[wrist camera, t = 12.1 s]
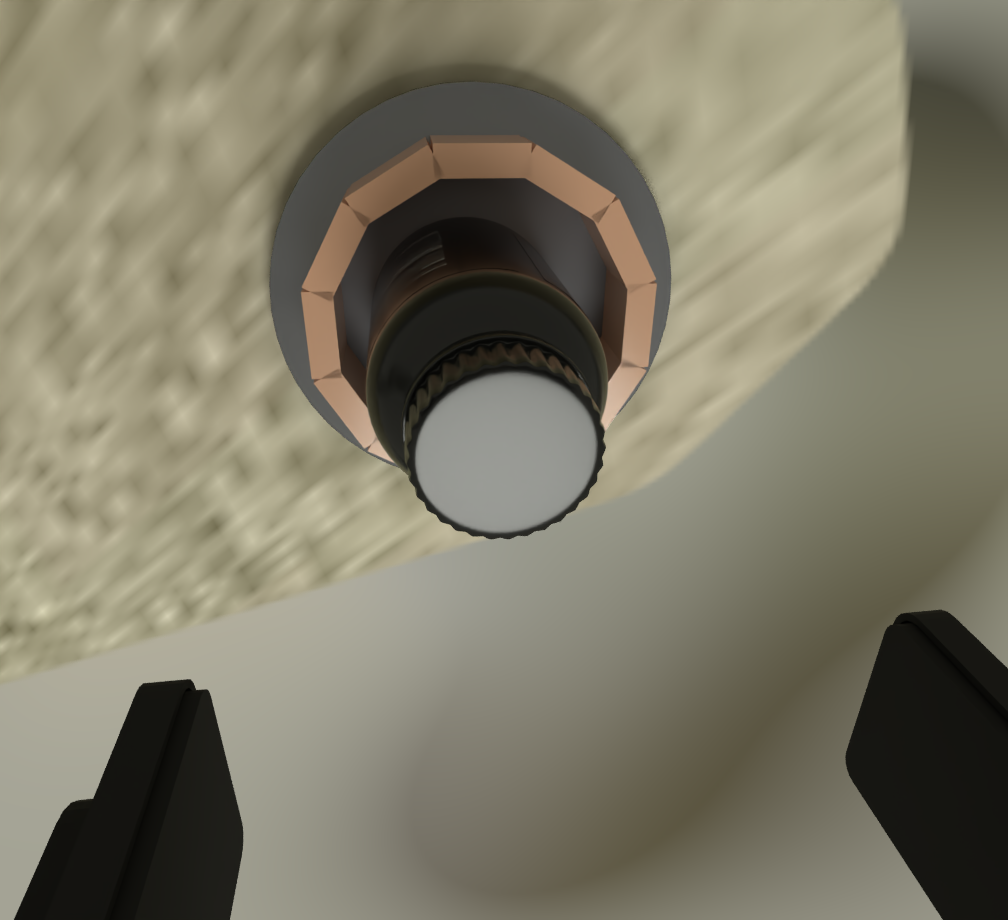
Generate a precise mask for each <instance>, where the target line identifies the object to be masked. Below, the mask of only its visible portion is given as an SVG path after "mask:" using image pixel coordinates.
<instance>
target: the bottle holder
mask: <svg viewBox="0 0 1008 920" xmlns="http://www.w3.org/2000/svg"><path fill="white" fill-rule="evenodd" d="M454 217H476V218H482V219H487V220H491V221H494V222H497V223H499V224H502V225H504V226H506V227H508V228H510V229H511V230H513V231H515V232H516V233H518V234H519V235H521V236H522V237H523V238H524V239H526V240H527V241H528V242H529V243H530V244H531V245H532V246H533V247H534V248H535V249H536V251H537V252H538V253H539V254H540V255H541V256H542V258H543V259H544V260H545V262H546V263H547V264H548V265H549V267H550V268H551V269H552V271H553V272H554V273H555V275H556V276H557V277H558V279H559V280H560V281H561V282H562V284H563V285H564V286H565V288H566V289H567V290H568V292H569V293H570V294H571V296H572V297H573V298H574V300H575V301H576V302H577V303H578V305H579V306H580V307H581V309H582V310H583V311H584V313H585V314H586V316H587V317H588V319H589V320H590V322H591V324H592V325H593V327H594V329H595V331H596V333H597V335H598V337H599V339H600V341H601V344H602V347H603V350H604V353H605V357H606V362H607V370H608V394H607V401H606V406H605V410H604V413H603V416H602V419H601V422H602V424H603V426H604V428H605V431H606V429H607V428H608V426H609V425H610V424H611V422H612V421H613V419H614V418H615V416H616V415H617V414H618V413H619V412H620V411H621V410H622V409H623V408H624V406H625V405H626V404H627V403H628V401H629V400H630V399H631V397H632V396H633V395H634V394H635V392H636V391H637V389H638V387H639V386H640V384H641V382H642V381H643V379H644V378H645V376H646V374H647V373H648V371H649V369H650V366H651V364H652V362H653V360H654V357H655V355H656V353H657V351H658V348H659V345H660V342H661V339H662V335H663V332H664V329H665V326H666V320H667V315H668V309H669V304H670V290H671V267H670V254H669V247H668V242H667V238H666V233H665V228H664V224H663V221H662V219H661V216H660V213H659V210H658V207H657V205H656V202H655V199H654V197H653V195H652V194H651V192H650V190H649V188H648V186H647V184H646V182H645V180H644V178H643V176H642V175H641V173H640V172H639V171H638V169H637V168H636V166H635V165H634V164H633V162H632V161H631V159H630V158H629V157H628V155H627V154H626V153H625V152H624V151H623V150H622V149H621V148H620V146H619V145H618V144H617V143H616V142H615V141H614V140H613V139H612V138H611V137H610V136H609V135H608V134H607V133H606V132H605V131H603V130H602V129H601V128H600V127H598V126H597V125H596V124H594V123H593V122H592V121H591V120H589V119H588V118H587V117H585V116H584V115H582V114H581V113H579V112H577V111H575V110H574V109H572V108H570V107H568V106H567V105H565V104H563V103H561V102H560V101H557V100H554V99H552V98H549V97H547V96H544V95H542V94H539V93H537V92H534V91H531V90H527V89H522V88H518V87H514V86H509V85H505V84H500V83H487V82H475V81H467V82H453V83H441V84H436V85H432V86H427V87H423V88H418V89H414V90H411V91H409V92H406V93H403V94H401V95H398V96H396V97H393V98H390V99H388V100H386V101H384V102H382V103H380V104H379V105H377V106H375V107H373V108H372V109H370V110H368V111H366V112H364V113H363V114H361V115H360V116H359V117H357V118H356V119H355V120H353V121H352V122H351V123H350V124H348V125H347V126H346V127H344V128H343V129H342V130H340V131H339V132H338V133H337V134H336V135H335V136H334V137H333V138H332V139H331V140H330V141H329V142H328V143H327V144H326V146H325V147H324V148H323V149H322V150H321V151H320V152H319V153H318V154H317V155H316V156H315V158H314V159H313V160H312V162H311V163H310V164H309V166H308V167H307V169H306V170H305V171H304V173H303V174H302V176H301V177H300V178H299V180H298V182H297V184H296V186H295V188H294V190H293V192H292V194H291V195H290V197H289V199H288V201H287V203H286V206H285V208H284V211H283V214H282V217H281V220H280V223H279V225H278V228H277V231H276V236H275V241H274V246H273V251H272V256H271V268H270V298H271V311H272V316H273V321H274V326H275V330H276V335H277V339H278V342H279V344H280V347H281V350H282V353H283V355H284V358H285V361H286V363H287V365H288V367H289V369H290V371H291V373H292V375H293V377H294V379H295V381H296V383H297V384H298V386H299V387H300V389H301V390H302V392H303V393H304V395H305V396H306V398H307V399H308V400H309V402H310V403H311V405H312V406H313V407H314V408H315V409H316V410H317V411H318V413H319V414H320V415H321V416H322V417H323V418H324V419H325V420H326V421H327V423H328V424H330V425H331V426H332V427H333V428H334V429H335V430H336V431H338V432H339V433H340V434H341V435H342V436H343V437H344V438H346V439H347V440H348V441H350V442H351V443H353V444H354V445H356V446H357V447H359V448H360V449H362V450H363V451H365V452H366V453H368V454H370V455H372V456H374V457H376V458H378V459H380V460H382V461H384V462H386V463H388V464H391V465H393V466H396V467H398V466H397V465H396V464H395V463H394V462H393V460H392V459H391V458H390V457H389V456H388V454H387V453H386V451H385V450H384V449H383V447H382V445H381V444H380V442H379V440H378V438H377V436H376V434H375V432H374V429H373V427H372V424H371V421H370V417H369V414H368V408H367V401H366V387H365V384H366V366H367V354H368V342H369V330H370V318H371V306H372V300H373V293H374V289H375V285H376V281H377V279H378V276H379V273H380V271H381V269H382V267H383V265H384V263H385V262H386V260H387V258H388V257H389V255H390V254H391V253H392V252H393V250H394V249H395V248H396V247H397V246H398V245H399V244H400V243H401V242H402V241H403V240H404V239H405V238H407V237H408V236H409V235H410V234H412V233H413V232H415V231H416V230H418V229H420V228H422V227H424V226H426V225H428V224H430V223H433V222H436V221H439V220H443V219H448V218H454Z"/></svg>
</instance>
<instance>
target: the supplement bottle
mask: <svg viewBox="0 0 1008 920" xmlns="http://www.w3.org/2000/svg"><path fill="white" fill-rule="evenodd" d="M365 387H366V401H367V408H368V414H369V417H370V421H371V424H372V427H373V429H374V432H375V434H376V436H377V438H378V440H379V442H380V444H381V445H382V447H383V449H384V450H385V451H386V453H387V454H388V456H389V457H390V458H391V459H392V460H393V462H394V463H395V464H396V465H397V466H398V467H399V468H400V469H401V470H402V471H404V472H405V473H406V474H407V475H408V478H409V480H410V482H411V483H412V484H413V486H414V487H415V492H416V496H417V497H418V498H419V499H420V500H422V501H423V502H425V506H426V508H427V510H428V511H429V512H431V513H433V514H435V515H437V517H438V519H439V520H440V522H443V523H446V524H450V525H451V526H452V527H453V528H454V529H455V530H456V531H464V532H467V533H468V534H470V535H471V536H484V537H486V538H488V539H496V538H504V539H511V538H514V537H516V536H528V535H530V534H531V533H533V532H534V531H540V530H545V529H546V528H547V527H549V526H550V525H551V524H553V523H557V522H559V521H561V520H562V519H563V518H564V517H565V516H566V514H568V513H570V512H572V511H574V510H576V508H577V506H578V504H579V502H581V501H582V500H584V499H585V498H586V497H587V496H588V494H589V490H590V488H591V487H592V486H593V485H594V484H595V483H596V482H597V473H598V472H599V471H600V469H601V468H602V466H603V460H602V456H603V454H604V451H605V449H606V446H605V443H604V440H603V438H604V433H605V428H604V426H603V424H602V422H601V419H602V416H603V413H604V410H605V406H606V401H607V394H608V370H607V362H606V357H605V353H604V350H603V347H602V344H601V341H600V339H599V337H598V335H597V333H596V331H595V329H594V327H593V325H592V324H591V322H590V320H589V319H588V317H587V316H586V314H585V313H584V311H583V310H582V309H581V307H580V306H579V305H578V303H577V302H576V301H575V300H574V298H573V297H572V296H571V294H570V293H569V292H568V290H567V289H566V288H565V286H564V285H563V284H562V282H561V281H560V280H559V279H558V277H557V276H556V275H555V273H554V272H553V271H552V269H551V268H550V267H549V265H548V264H547V263H546V262H545V260H544V259H543V258H542V256H541V255H540V254H539V253H538V252H537V251H536V249H535V248H534V247H533V246H532V245H531V244H530V243H529V242H528V241H527V240H526V239H524V238H523V237H522V236H521V235H519V234H518V233H516V232H515V231H513V230H511V229H510V228H508V227H506V226H504V225H502V224H499V223H497V222H494V221H491V220H487V219H482V218H476V217H454V218H448V219H443V220H439V221H436V222H433V223H430V224H428V225H426V226H424V227H422V228H420V229H418V230H416V231H415V232H413V233H412V234H410V235H409V236H408V237H407V238H405V239H404V240H403V241H402V242H401V243H400V244H399V245H398V246H397V247H396V248H395V249H394V250H393V252H392V253H391V254H390V255H389V257H388V258H387V260H386V262H385V263H384V265H383V267H382V269H381V271H380V273H379V276H378V279H377V281H376V285H375V289H374V293H373V300H372V306H371V318H370V330H369V342H368V354H367V366H366V384H365Z"/></svg>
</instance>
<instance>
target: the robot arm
mask: <svg viewBox="0 0 1008 920" xmlns="http://www.w3.org/2000/svg"><path fill="white" fill-rule="evenodd" d="M846 766H847V770H848V773H849V776H850V778H851V779H852V781H853V783H854V784H855V786H856V787H857V789H858V790H859V792H860V793H861V795H862V797H863V798H864V800H865V801H866V803H867V804H868V806H869V807H870V809H871V810H872V812H873V813H874V815H875V817H876V818H877V819H878V821H879V823H880V824H881V826H882V827H883V829H884V830H885V832H886V833H887V835H888V836H889V838H890V839H891V841H892V843H893V844H894V846H895V847H896V849H897V850H898V852H899V853H900V855H901V856H902V858H903V859H904V861H905V862H906V864H907V866H908V867H909V869H910V870H911V871H912V873H913V875H914V876H915V878H916V879H917V881H918V882H919V884H920V885H921V887H922V888H923V890H924V892H925V893H926V895H927V896H928V897H929V899H930V901H931V902H932V904H933V905H934V907H935V908H936V910H937V911H938V913H939V914H940V916H941V918H942V919H943V920H1008V668H1007V667H1006V666H1005V665H1003V663H1002V662H1000V661H999V660H998V659H997V658H996V657H995V656H994V655H993V654H992V653H991V652H990V651H989V650H988V649H987V648H986V647H985V646H984V645H983V644H982V643H981V642H980V641H979V640H978V639H977V638H976V637H975V636H974V635H973V634H971V633H970V632H969V631H968V630H967V629H966V628H965V627H964V626H963V625H962V624H961V623H960V622H959V621H958V620H957V619H956V618H955V617H954V616H952V615H951V614H950V613H948V612H946V611H943V610H933V611H922V612H912V613H903V614H900V615H899V616H898V617H897V618H896V620H895V621H894V623H893V625H890V626H889V627H887V629H886V631H885V634H884V637H883V640H882V643H881V646H880V649H879V652H878V655H877V658H876V661H875V664H874V667H873V671H872V674H871V677H870V680H869V683H868V687H867V689H866V692H865V695H864V698H863V702H862V705H861V708H860V711H859V714H858V717H857V720H856V723H855V726H854V730H853V733H852V736H851V739H850V742H849V745H848V748H847V751H846ZM242 850H243V826H242V821H241V817H240V813H239V809H238V805H237V800H236V796H235V792H234V788H233V784H232V780H231V776H230V772H229V768H228V764H227V760H226V756H225V752H224V748H223V744H222V740H221V736H220V731H219V728H218V724H217V719H216V715H215V711H214V707H213V703H212V699H211V696H210V693H209V691H208V690H196V688H195V686H194V683H193V682H192V681H191V680H190V679H187V680H176V681H165V682H154V683H143V684H142V685H141V686H140V687H139V689H138V690H137V692H136V694H135V697H134V699H133V702H132V704H131V707H130V709H129V712H128V714H127V717H126V719H125V722H124V724H123V727H122V729H121V731H120V734H119V736H118V739H117V741H116V744H115V746H114V749H113V751H112V754H111V756H110V759H109V761H108V764H107V766H106V768H105V771H104V774H103V776H102V778H101V781H100V783H99V786H98V789H97V791H96V793H95V796H94V798H93V799H86V800H78V801H75V802H72V803H70V805H69V806H68V807H67V808H66V809H65V810H64V811H63V812H62V814H61V816H60V818H59V820H58V822H57V823H56V825H55V828H54V830H53V832H52V834H51V837H50V839H49V841H48V843H47V846H46V848H45V850H44V853H43V855H42V857H41V860H40V862H39V864H38V866H37V869H36V871H35V873H34V875H33V878H32V880H31V882H30V884H29V887H28V889H27V891H26V893H25V896H24V898H23V900H22V902H21V905H20V907H19V909H18V912H17V914H16V916H15V918H14V920H230V916H231V911H232V905H233V900H234V895H235V889H236V884H237V878H238V873H239V868H240V862H241V857H242Z"/></svg>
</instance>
